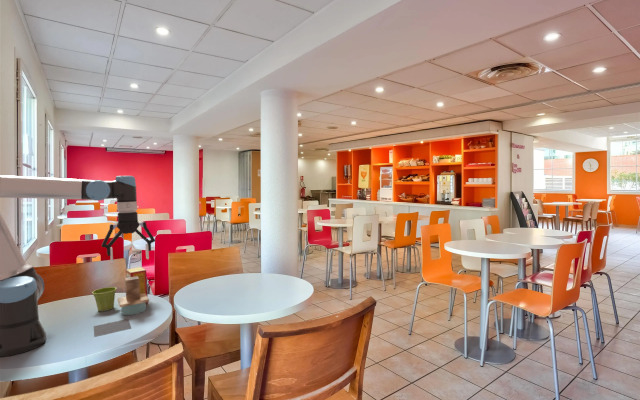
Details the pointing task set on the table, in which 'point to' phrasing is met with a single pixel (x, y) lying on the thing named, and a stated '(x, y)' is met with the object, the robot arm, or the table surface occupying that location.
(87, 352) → the table surface
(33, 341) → the robot arm
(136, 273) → the baking soda box
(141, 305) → the bowl
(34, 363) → the table surface
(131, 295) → the lid
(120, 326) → the mat
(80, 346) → the table surface
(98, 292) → the plant pot
